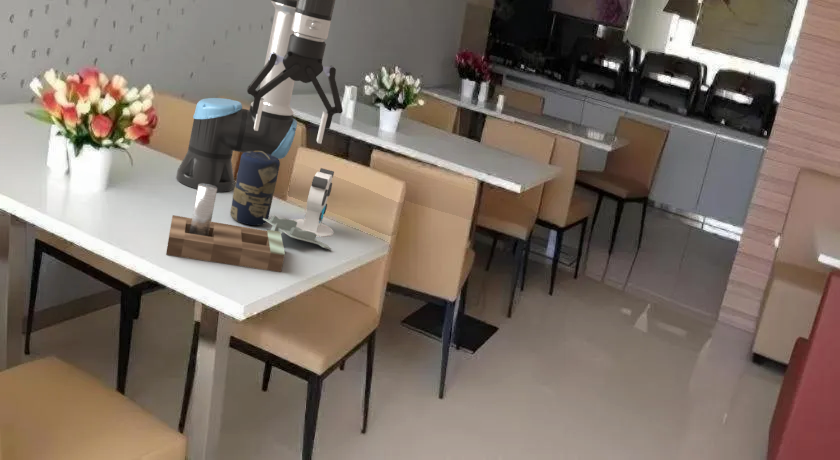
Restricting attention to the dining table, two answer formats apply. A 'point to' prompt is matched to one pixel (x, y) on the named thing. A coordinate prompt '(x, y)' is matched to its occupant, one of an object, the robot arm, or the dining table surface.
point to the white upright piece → (317, 204)
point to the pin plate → (227, 245)
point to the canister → (254, 187)
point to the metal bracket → (293, 230)
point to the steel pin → (203, 209)
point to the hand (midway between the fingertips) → (287, 135)
